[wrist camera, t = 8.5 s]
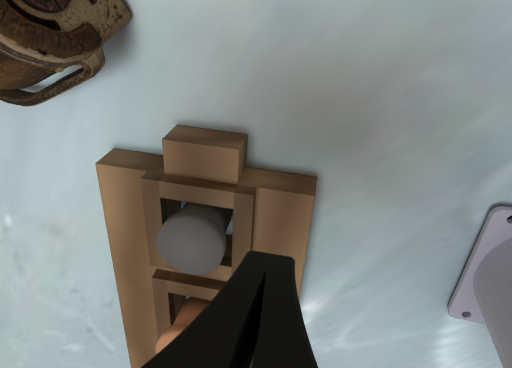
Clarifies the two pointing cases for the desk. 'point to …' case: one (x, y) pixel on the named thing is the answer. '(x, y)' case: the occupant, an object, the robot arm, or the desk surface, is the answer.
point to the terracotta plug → (181, 320)
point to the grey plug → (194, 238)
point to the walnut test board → (168, 203)
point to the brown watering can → (53, 43)
